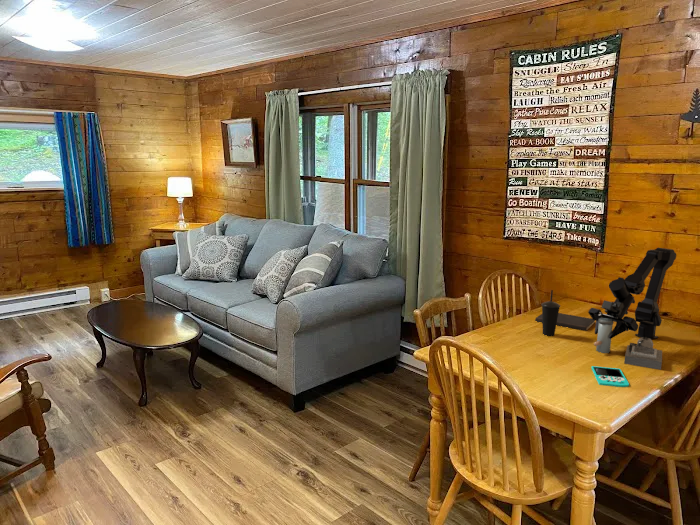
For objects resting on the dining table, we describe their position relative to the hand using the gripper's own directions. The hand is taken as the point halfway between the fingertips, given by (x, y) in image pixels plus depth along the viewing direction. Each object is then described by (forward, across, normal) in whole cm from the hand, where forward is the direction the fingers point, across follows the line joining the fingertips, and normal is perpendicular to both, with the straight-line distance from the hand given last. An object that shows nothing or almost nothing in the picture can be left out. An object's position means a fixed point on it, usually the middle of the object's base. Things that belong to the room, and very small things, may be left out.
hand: (602, 335), depth 214 cm
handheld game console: (+20, +17, -10) cm, 28 cm away
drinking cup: (+5, -25, +5) cm, 26 cm away
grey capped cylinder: (+5, 0, +5) cm, 7 cm away
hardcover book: (-10, -32, +21) cm, 40 cm away
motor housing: (-1, +13, +10) cm, 16 cm away
